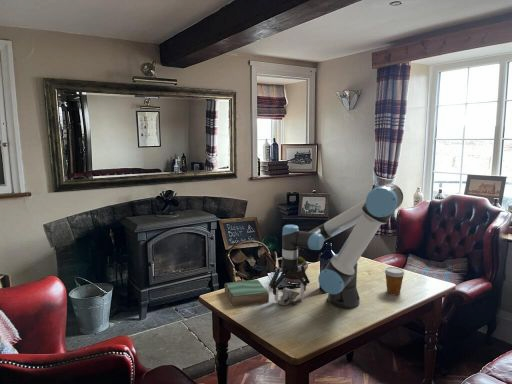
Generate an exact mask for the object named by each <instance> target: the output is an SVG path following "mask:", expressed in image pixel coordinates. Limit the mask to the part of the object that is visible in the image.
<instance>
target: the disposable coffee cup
mask: <svg viewBox="0 0 512 384" xmlns="http://www.w3.org/2000/svg"><path fill="white" fill-rule="evenodd" d="M384 273H385V283H386V292H387V293H388V294H389V295H392V296H393V295H395V296H397V295H400V294H401V291H402V285H403V280H404V275H405V271H404V269H402V268H400V267H396V266H388V267H386V268H385V270H384Z"/></svg>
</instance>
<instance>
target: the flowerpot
mask: <svg viewBox="0 0 512 384" xmlns="http://www.w3.org/2000/svg"><path fill="white" fill-rule="evenodd" d="M297 258H298V266H300V265H302V266H304V271H305V272H307V271H306V270H308V267H309V263H308V262H307V261H306V259H305V258H304V257H302V256H299V255H298V257H297ZM280 263H281V264H280V268H282V262H280ZM297 273H298V274H299V276H300V277H301V278H302V279H303V280H304V281H305V279H304V277H303V275H302V273H301V271H300V270H299V269H298V270H297ZM283 280H284V281H285V282H286V281H287V282H290V283H298V284H297V285H301V284H303V283H302V282H301V281H300V280H299V279H298V278H297V276H296V275H293V276H288V277H287V276H286V277H285V278H284V279H283ZM287 282H286V283H287Z"/></svg>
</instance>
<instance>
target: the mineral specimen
mask: <svg viewBox="0 0 512 384" xmlns="http://www.w3.org/2000/svg"><path fill="white" fill-rule="evenodd" d="M299 295H300V292H298V291H296V290H293V289H291V288H288V287H283V290H282V295H280V298H279V299H278V302H277V303H278V305H280V306H287V305H289V304H290V303H292V301H294V300H296V298H297V297H298V296H299Z"/></svg>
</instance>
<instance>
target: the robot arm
mask: <svg viewBox="0 0 512 384" xmlns="http://www.w3.org/2000/svg"><path fill="white" fill-rule="evenodd" d="M403 201H404V192H403V190H402V189H401V188H400V187H399V186H398V185H397V184H394V183H389V182H387V183H383V184H381V185H379V186H376V187H374V188H373V189H371V190H370V191H369V192H368V194H367V195H366V198H365V200H363V201H361V202H360V203H358V204H356V205H354V206H352V207H350V208H349V209H346V210H345V211H343V212H342V213H340V214H338V215H336V216H334V217H333V218H331V219H329V220H327V221H326V222H324V223H321V225H318V226H317V227H315V228H313V229H311V230H310V231H309V230H308V231H303V230H299V226H298V225H296V224H285V225H284V226H283V227H282V233H281V234H282V235H281V236H282V239H281V240H282V247H281V248H282V249H281V250H282V251H281V253H282V254H281V255H282V257H281V263H282V267H278V266H277V267H275V270H274V273H273V275H272V277H271V280H270V282H269V284H268V286H269V288H270V289H272V295H274V301H275V302H276V303H278V302H279V288H278V287H279V286H280V284H281V283H282V282H283V280H284V278H285V277H286V276H287V277H288V276H293V275H296V276H297V278H298V279H299V280H300V281H301V282H302V283H301V284H300V292H299V293H300V294H299V295H300V297H301V299H304V298H305V292H306V291H307V286H308V284H310V280H309V278H308V276H307V273H306V271H304V266H302V265H300V266H298V258H297V257H299V248H304V249H308V250H313V251H320V250H321V249H322V248H323V246H324V243H325V241H327V240H329V239H332V237H335V236H337V235H338V234H340V233H342V232H344V231H346V230H348V229H349V228H351V227H353V226H354V227H353V229H352V231H351V232H350V234H349V236H348V238H347V239H346V240H345V242H344V243H343V245H342V247H341V249H340V250H339V251H338V252H337V254H333V255H332V257H331V258H330V259H329V261H328V262H327V264H326V266H325V268H324V269H322V271H320V273H319V274H318V283H319V286H320V288H321V289H322V290H323V291H324V292H325V293H326V294H327V293H328V295H327V302H328V303H329V305H332V306H334V307H336V308H343V309H352V308H357V307H358V306H360V304H361V303H360V302H361V300H360V299H361V298H360V295H359V292H358V291H359V290H358V287H357V281H358V278H357V277H358V265H359V264H358V261H359V260H360V258H361V257H362V255H363V253H364V252H365V250H366V249H367V247H368V246H369V244H370V242H371V241H372V239H373V238H374V236H375V234H377V232H378V230H379V228H380V227H381V226H382V225H387V223H388V222H389V220H390V218H392V215H394V213H395V212H396V210H397V209H398V208H399V207H401V205H402V203H403ZM298 269H299V270H300V271H301V273H302V275H303V277H304V279H305V280H303V279H302V278H301V277H300V276H299V274H298V273H297V270H298Z"/></svg>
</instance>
